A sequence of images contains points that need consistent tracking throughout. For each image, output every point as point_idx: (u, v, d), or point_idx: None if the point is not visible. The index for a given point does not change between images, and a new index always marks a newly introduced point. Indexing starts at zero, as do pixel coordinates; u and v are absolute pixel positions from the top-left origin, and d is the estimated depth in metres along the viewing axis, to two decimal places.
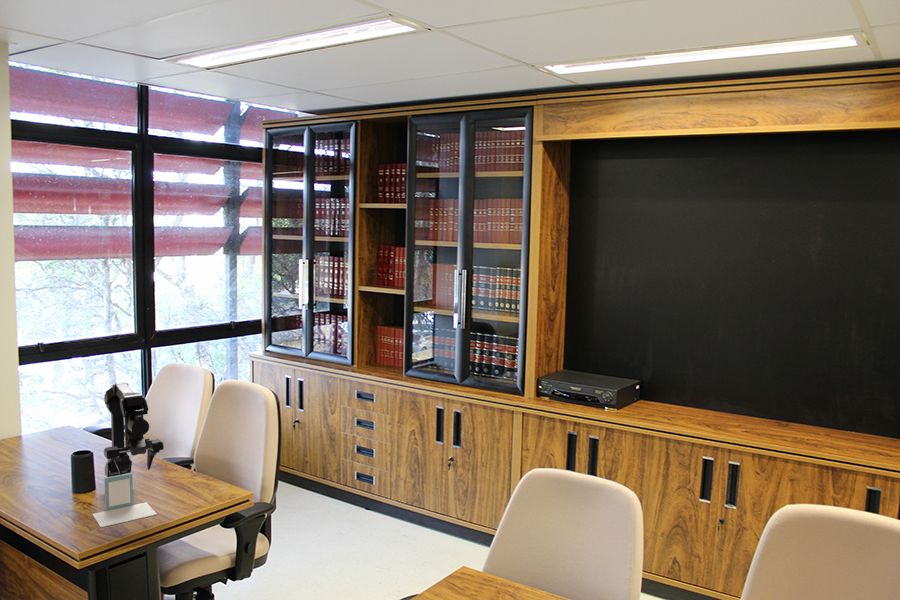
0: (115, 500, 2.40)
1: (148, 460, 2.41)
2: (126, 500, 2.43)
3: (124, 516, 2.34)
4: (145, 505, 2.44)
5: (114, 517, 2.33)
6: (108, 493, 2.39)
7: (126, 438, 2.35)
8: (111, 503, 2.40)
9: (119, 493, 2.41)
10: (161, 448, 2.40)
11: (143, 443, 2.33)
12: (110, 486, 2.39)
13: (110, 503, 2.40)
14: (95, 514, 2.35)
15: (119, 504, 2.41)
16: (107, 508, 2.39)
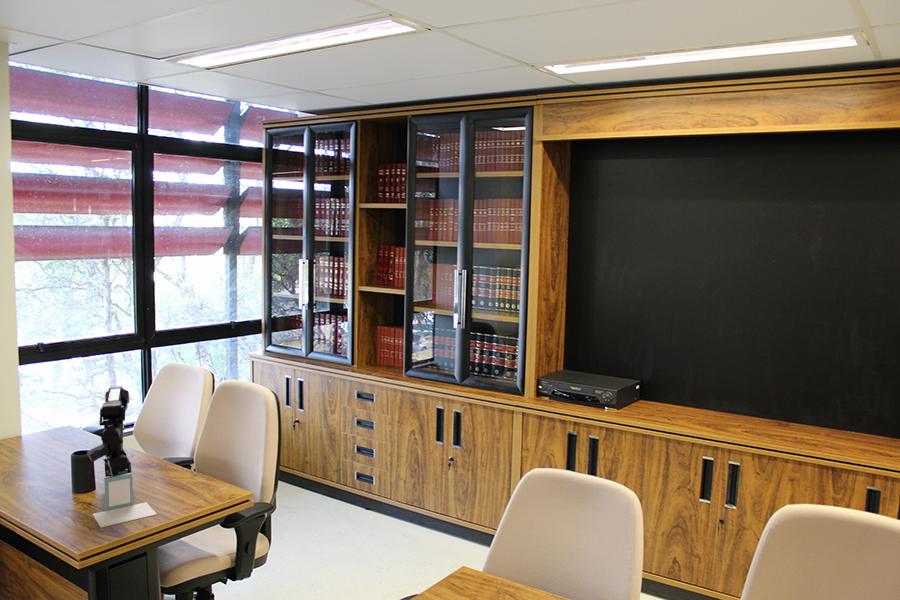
0: (115, 500, 2.40)
1: None
2: (126, 500, 2.43)
3: (124, 516, 2.34)
4: (145, 505, 2.44)
5: (114, 517, 2.33)
6: (108, 493, 2.39)
7: None
8: (111, 503, 2.40)
9: (119, 493, 2.41)
10: (109, 465, 2.38)
11: None
12: (110, 486, 2.39)
13: (110, 503, 2.40)
14: (95, 514, 2.35)
15: (119, 504, 2.41)
16: (107, 508, 2.39)
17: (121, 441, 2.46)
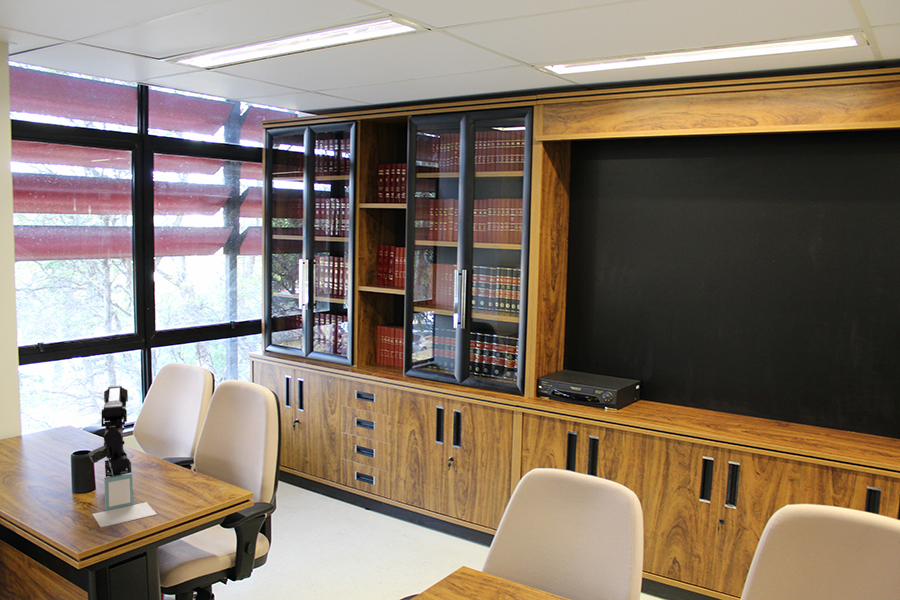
0: (115, 500, 2.40)
1: None
2: (126, 500, 2.43)
3: (124, 516, 2.34)
4: (145, 505, 2.44)
5: (114, 517, 2.33)
6: (108, 493, 2.39)
7: None
8: (111, 503, 2.40)
9: (119, 493, 2.41)
10: (110, 466, 2.36)
11: None
12: (110, 486, 2.39)
13: (110, 503, 2.40)
14: (95, 514, 2.35)
15: (119, 504, 2.41)
16: (107, 508, 2.39)
17: (122, 442, 2.44)
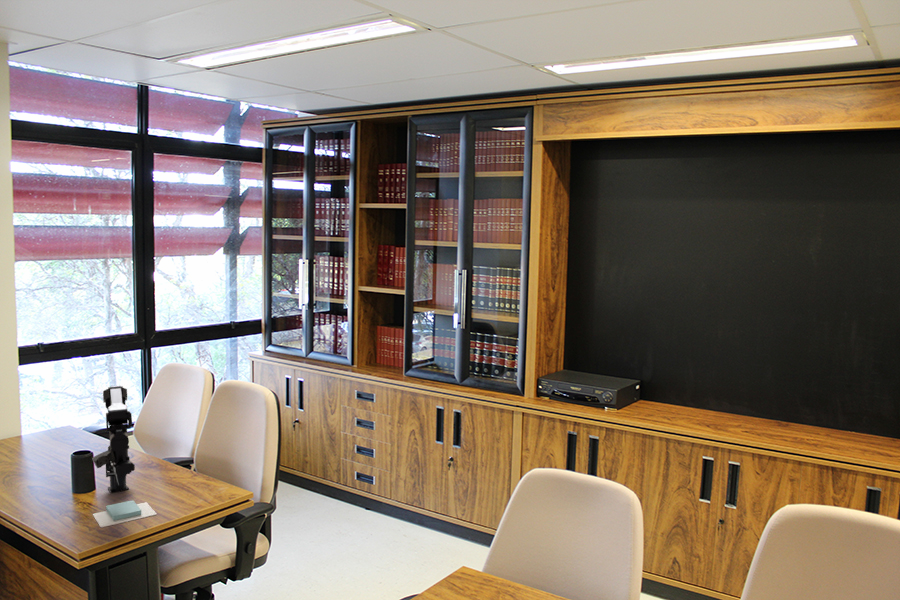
0: None
1: None
2: None
3: None
4: (145, 505, 2.44)
5: None
6: None
7: None
8: None
9: None
10: (115, 471, 2.30)
11: None
12: None
13: None
14: (95, 514, 2.35)
15: None
16: None
17: (127, 447, 2.38)
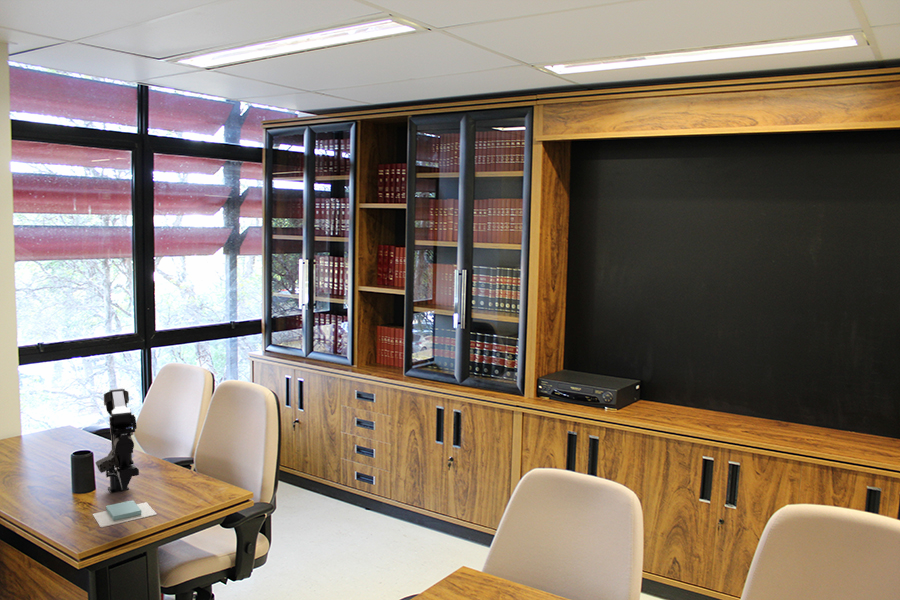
0: None
1: None
2: None
3: None
4: (145, 505, 2.44)
5: None
6: None
7: None
8: None
9: None
10: (119, 476, 2.26)
11: None
12: None
13: None
14: (95, 514, 2.35)
15: None
16: None
17: (131, 451, 2.33)
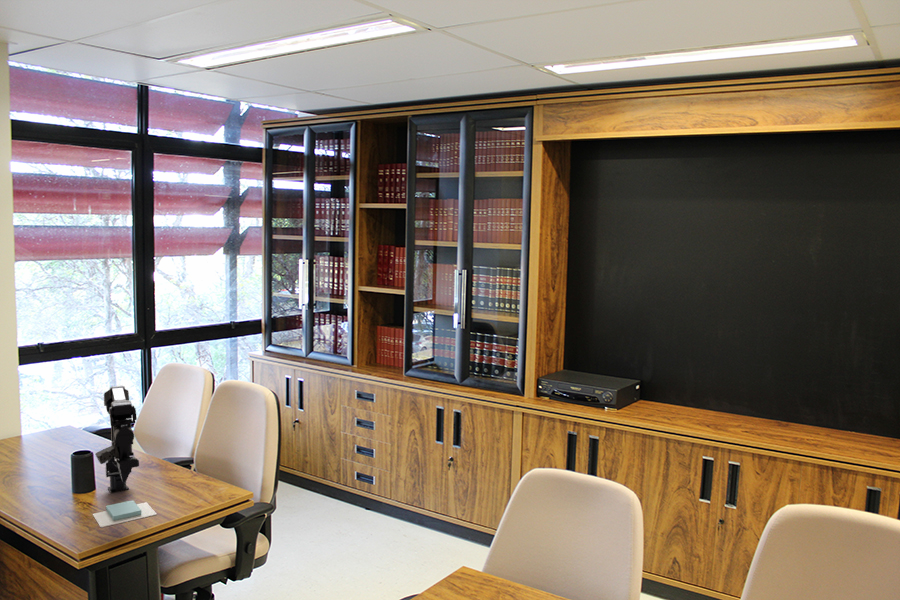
0: None
1: None
2: None
3: None
4: (145, 505, 2.44)
5: None
6: None
7: None
8: None
9: None
10: (119, 467, 2.25)
11: None
12: None
13: None
14: (95, 514, 2.35)
15: None
16: None
17: (131, 442, 2.33)
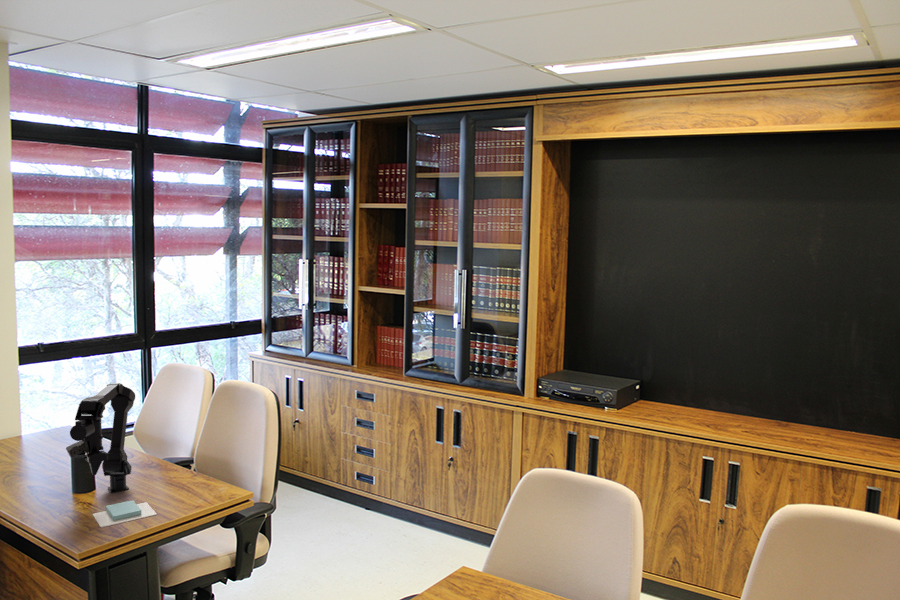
0: None
1: None
2: None
3: None
4: (145, 505, 2.44)
5: None
6: None
7: None
8: None
9: None
10: (88, 461, 2.33)
11: None
12: None
13: None
14: (95, 514, 2.35)
15: None
16: None
17: (101, 437, 2.40)
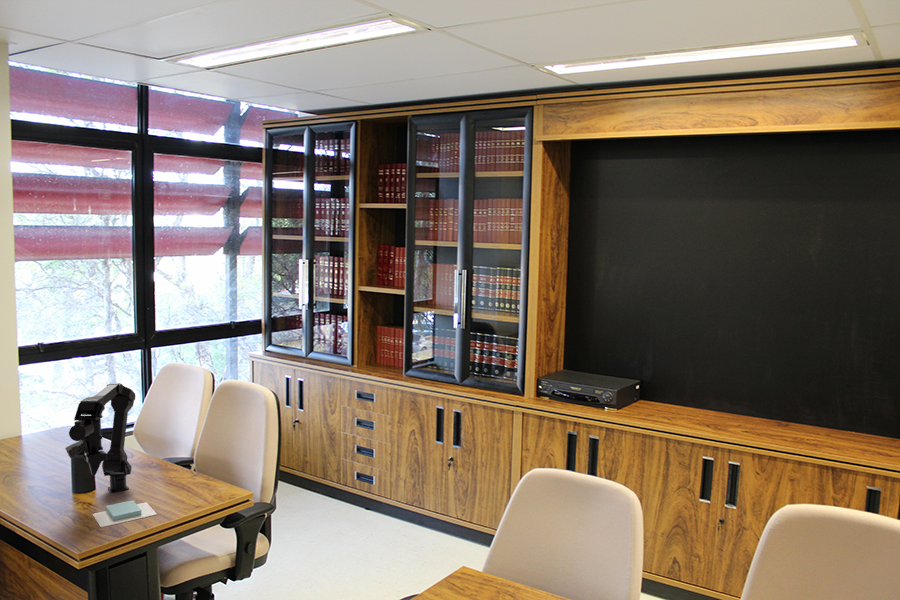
0: None
1: None
2: None
3: None
4: (145, 505, 2.44)
5: None
6: None
7: None
8: None
9: None
10: (87, 461, 2.33)
11: None
12: None
13: None
14: (95, 514, 2.35)
15: None
16: None
17: (100, 437, 2.40)
